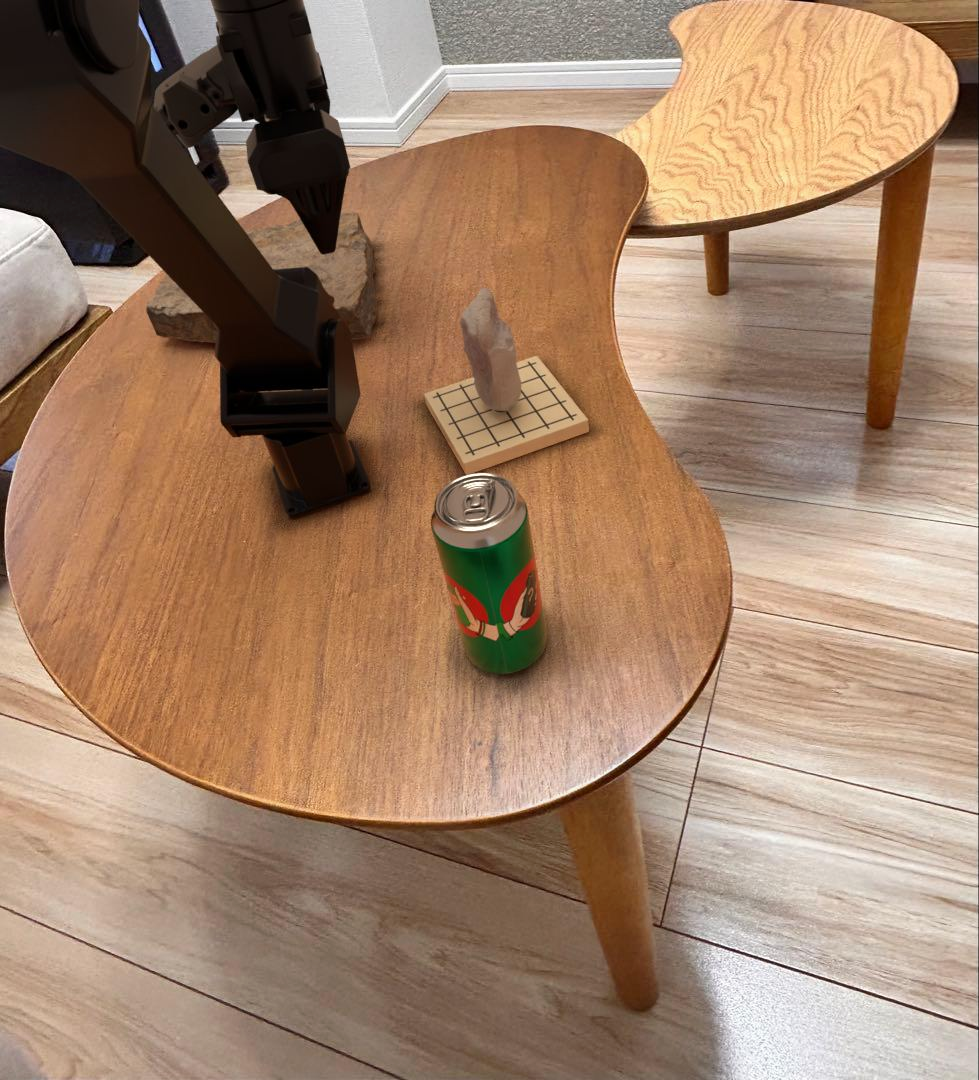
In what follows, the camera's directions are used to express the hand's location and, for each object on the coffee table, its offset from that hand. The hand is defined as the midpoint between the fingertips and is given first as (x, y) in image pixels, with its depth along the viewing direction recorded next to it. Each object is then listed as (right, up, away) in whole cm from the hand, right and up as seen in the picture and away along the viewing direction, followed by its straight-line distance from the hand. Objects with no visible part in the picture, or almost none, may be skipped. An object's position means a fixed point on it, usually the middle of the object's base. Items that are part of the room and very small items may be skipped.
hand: (322, 224), depth 67 cm
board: (+14, -15, +1) cm, 21 cm away
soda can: (+14, -31, -15) cm, 37 cm away
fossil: (+14, -14, 0) cm, 20 cm away
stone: (-7, 0, +20) cm, 21 cm away
